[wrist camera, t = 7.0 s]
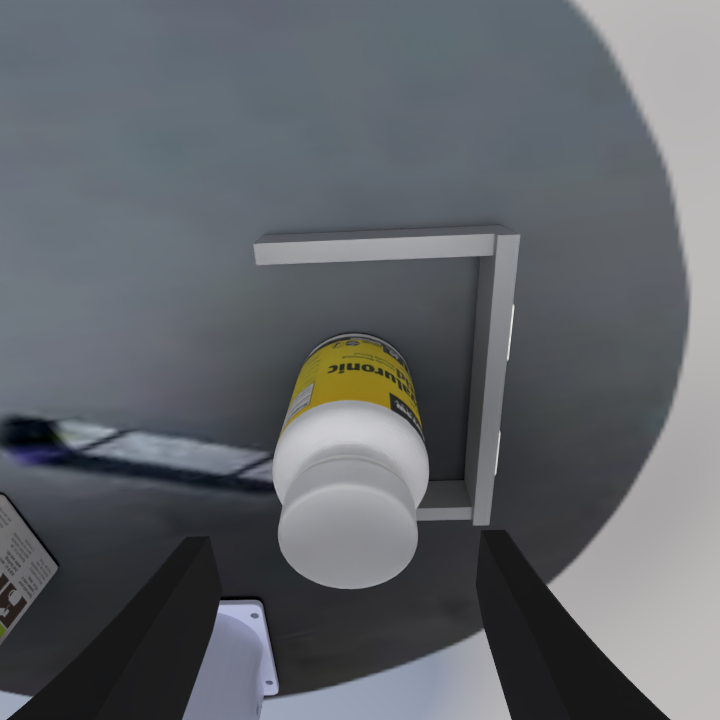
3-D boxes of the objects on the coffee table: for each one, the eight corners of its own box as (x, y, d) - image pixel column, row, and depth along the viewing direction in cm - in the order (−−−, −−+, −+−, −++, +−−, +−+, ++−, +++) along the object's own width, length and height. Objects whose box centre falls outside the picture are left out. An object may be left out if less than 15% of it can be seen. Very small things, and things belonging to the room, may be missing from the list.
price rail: (481, 491, 24) (493, 524, 22) (298, 496, 24) (292, 529, 22) (506, 224, 18) (525, 234, 16) (264, 234, 18) (250, 245, 16)
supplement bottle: (434, 365, 21) (484, 522, 12) (372, 445, 23) (376, 630, 14) (335, 307, 20) (310, 432, 11) (279, 396, 22) (219, 564, 13)
